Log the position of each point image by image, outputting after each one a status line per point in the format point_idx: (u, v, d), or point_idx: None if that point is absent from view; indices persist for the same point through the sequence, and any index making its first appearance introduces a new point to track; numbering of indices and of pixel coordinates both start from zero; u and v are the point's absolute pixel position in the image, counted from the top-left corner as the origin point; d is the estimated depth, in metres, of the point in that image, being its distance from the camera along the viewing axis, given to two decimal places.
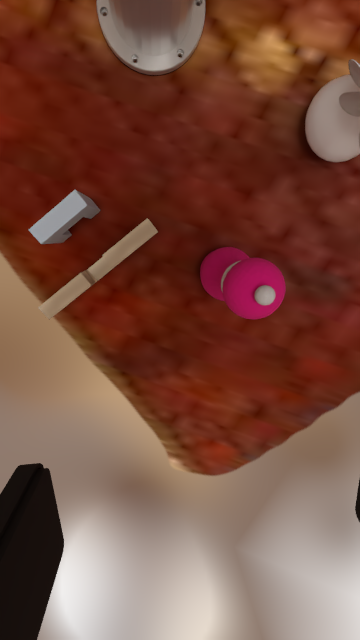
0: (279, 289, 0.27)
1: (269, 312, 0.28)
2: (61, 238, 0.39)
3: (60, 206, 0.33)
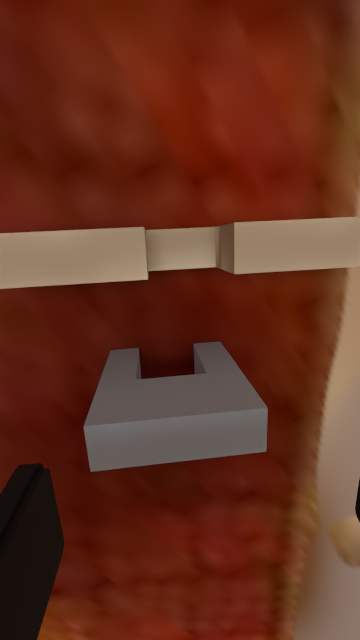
0: None
1: None
2: (214, 359, 0.16)
3: (153, 457, 0.12)
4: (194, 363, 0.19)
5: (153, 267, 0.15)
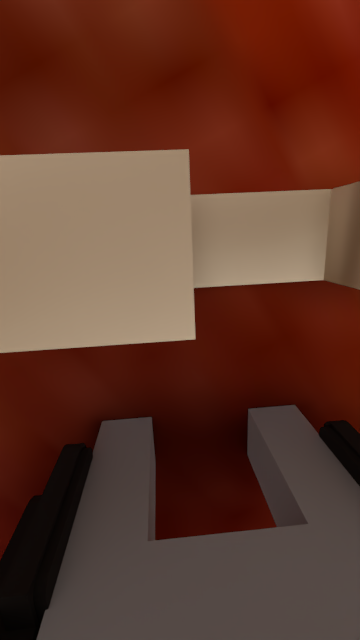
0: None
1: None
2: (306, 465, 0.08)
3: None
4: (248, 442, 0.11)
5: None
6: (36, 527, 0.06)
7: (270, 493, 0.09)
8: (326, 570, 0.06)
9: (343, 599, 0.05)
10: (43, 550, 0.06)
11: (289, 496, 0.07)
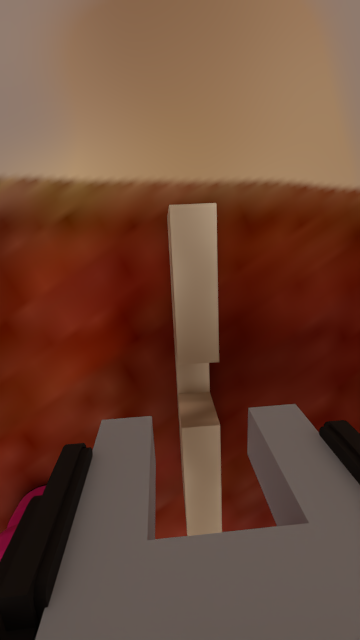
0: None
1: None
2: (307, 464, 0.08)
3: None
4: (249, 442, 0.11)
5: (207, 388, 0.19)
6: (36, 527, 0.06)
7: (270, 492, 0.09)
8: (327, 569, 0.06)
9: (344, 598, 0.05)
10: (43, 551, 0.06)
11: (289, 495, 0.07)
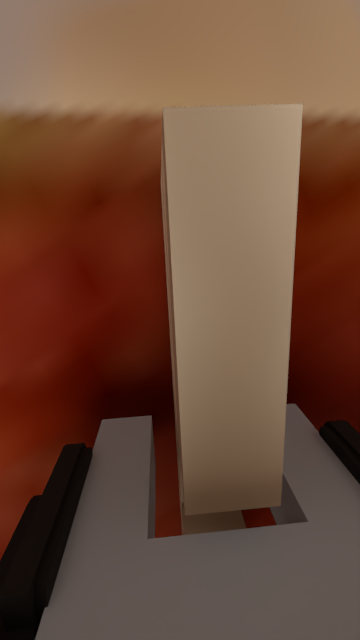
0: None
1: None
2: (307, 463, 0.08)
3: None
4: None
5: None
6: (36, 527, 0.06)
7: None
8: (326, 568, 0.06)
9: (343, 596, 0.05)
10: (43, 550, 0.06)
11: (289, 494, 0.07)
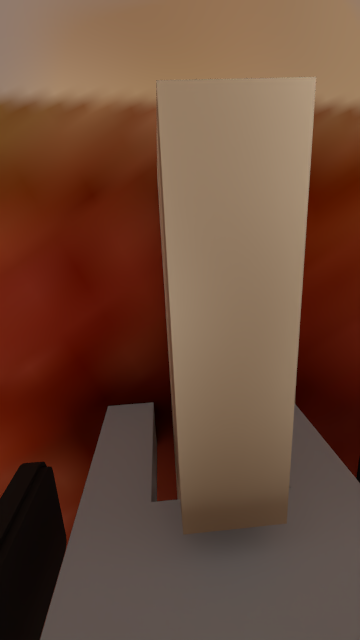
0: None
1: None
2: (292, 442, 0.09)
3: None
4: None
5: None
6: None
7: None
8: (304, 523, 0.07)
9: (316, 544, 0.06)
10: None
11: None
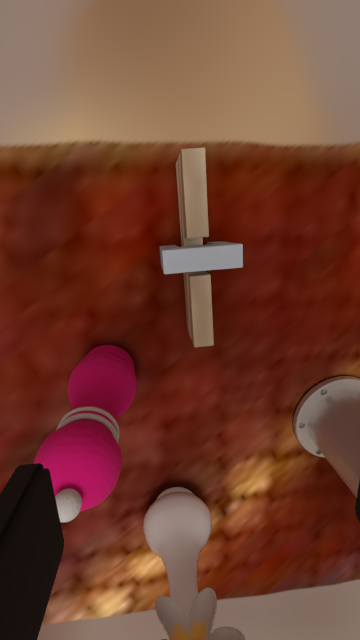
0: None
1: None
2: (218, 242, 0.30)
3: (191, 267, 0.26)
4: None
5: None
6: None
7: None
8: (215, 244, 0.28)
9: (216, 244, 0.28)
10: None
11: None
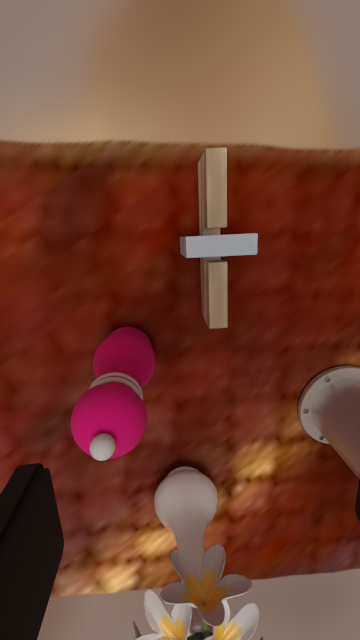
0: None
1: (75, 433, 0.22)
2: None
3: (211, 253, 0.29)
4: None
5: (218, 257, 0.34)
6: None
7: None
8: (232, 234, 0.31)
9: None
10: None
11: None
